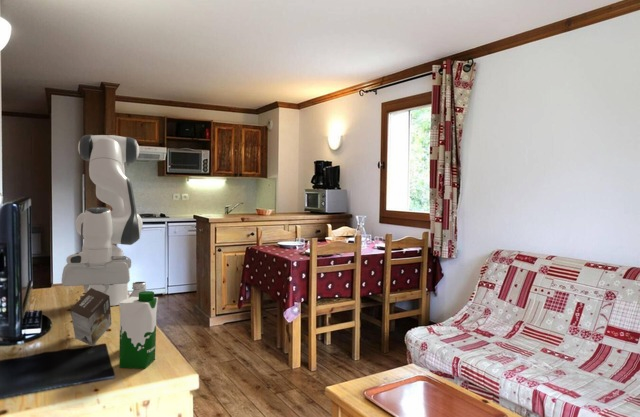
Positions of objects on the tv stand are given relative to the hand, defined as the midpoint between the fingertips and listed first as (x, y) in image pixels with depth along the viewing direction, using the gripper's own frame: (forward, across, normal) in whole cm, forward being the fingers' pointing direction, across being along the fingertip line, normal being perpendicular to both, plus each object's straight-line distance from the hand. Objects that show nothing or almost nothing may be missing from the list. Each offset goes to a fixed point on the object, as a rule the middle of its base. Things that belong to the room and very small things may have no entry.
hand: (96, 298), depth 149 cm
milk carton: (+12, -13, +31) cm, 36 cm away
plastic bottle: (+12, -13, +17) cm, 25 cm away
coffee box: (+9, 0, +8) cm, 12 cm away
